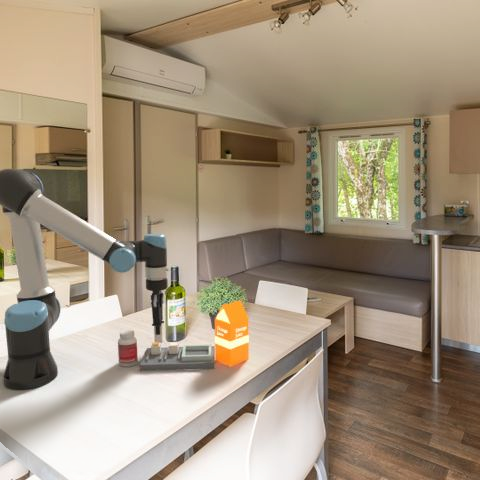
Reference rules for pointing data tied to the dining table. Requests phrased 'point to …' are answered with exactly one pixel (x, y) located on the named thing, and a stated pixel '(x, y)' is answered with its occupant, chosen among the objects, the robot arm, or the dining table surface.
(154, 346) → the block
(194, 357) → the panel
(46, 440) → the dining table surface
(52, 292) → the robot arm
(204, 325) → the dining table surface
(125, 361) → the pill bottle
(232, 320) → the orange juice
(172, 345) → the toggle plain
